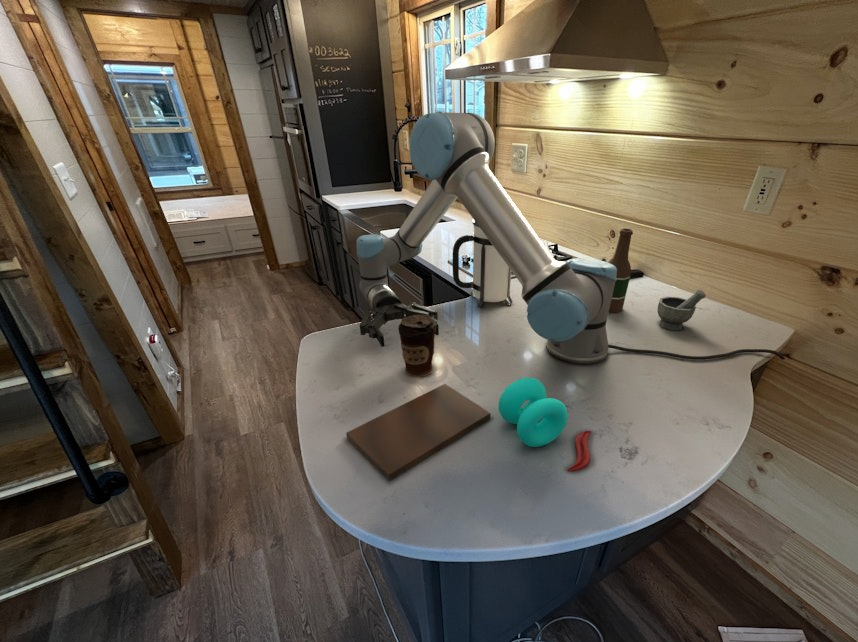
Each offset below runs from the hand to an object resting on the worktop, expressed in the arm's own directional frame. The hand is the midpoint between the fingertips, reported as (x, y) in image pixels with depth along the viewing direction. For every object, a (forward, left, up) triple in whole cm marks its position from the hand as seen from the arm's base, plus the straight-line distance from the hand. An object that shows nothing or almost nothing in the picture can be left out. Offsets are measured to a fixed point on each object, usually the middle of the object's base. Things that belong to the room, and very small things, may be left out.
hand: (410, 335), depth 95 cm
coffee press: (-7, -42, -7) cm, 44 cm away
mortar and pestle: (-62, -44, -7) cm, 76 cm away
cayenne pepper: (-43, +18, -7) cm, 47 cm away
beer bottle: (-44, -51, -7) cm, 68 cm away
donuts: (-32, +16, -7) cm, 37 cm away
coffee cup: (-3, +3, -7) cm, 9 cm away
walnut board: (-12, +22, -7) cm, 27 cm away
